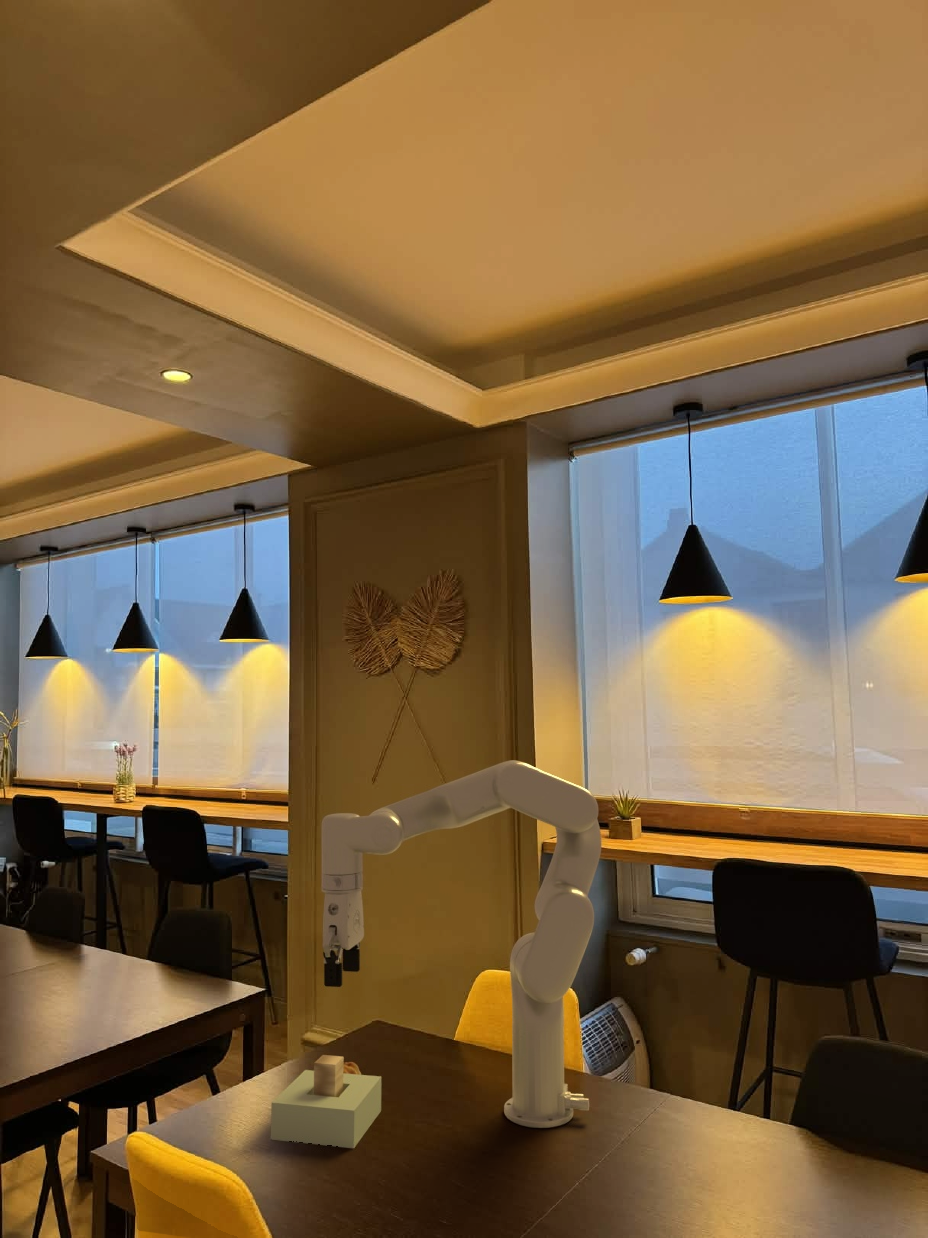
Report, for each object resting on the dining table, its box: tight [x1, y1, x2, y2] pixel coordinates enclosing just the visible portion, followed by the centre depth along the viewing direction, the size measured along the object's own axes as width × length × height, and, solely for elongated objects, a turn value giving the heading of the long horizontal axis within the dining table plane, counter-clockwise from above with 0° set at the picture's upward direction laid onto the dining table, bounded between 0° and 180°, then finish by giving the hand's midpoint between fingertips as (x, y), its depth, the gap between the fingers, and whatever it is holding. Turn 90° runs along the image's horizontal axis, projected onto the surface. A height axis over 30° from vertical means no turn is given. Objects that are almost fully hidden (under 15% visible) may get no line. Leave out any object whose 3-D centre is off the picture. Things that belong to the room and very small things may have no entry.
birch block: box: [313, 1054, 345, 1097], centre depth 160 cm, size 4×4×10 cm
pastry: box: [343, 1061, 362, 1075], centre depth 176 cm, size 9×7×4 cm
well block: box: [270, 1069, 382, 1149], centre depth 159 cm, size 15×15×6 cm
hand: (342, 978), depth 163 cm, fingers open, 9 cm apart
